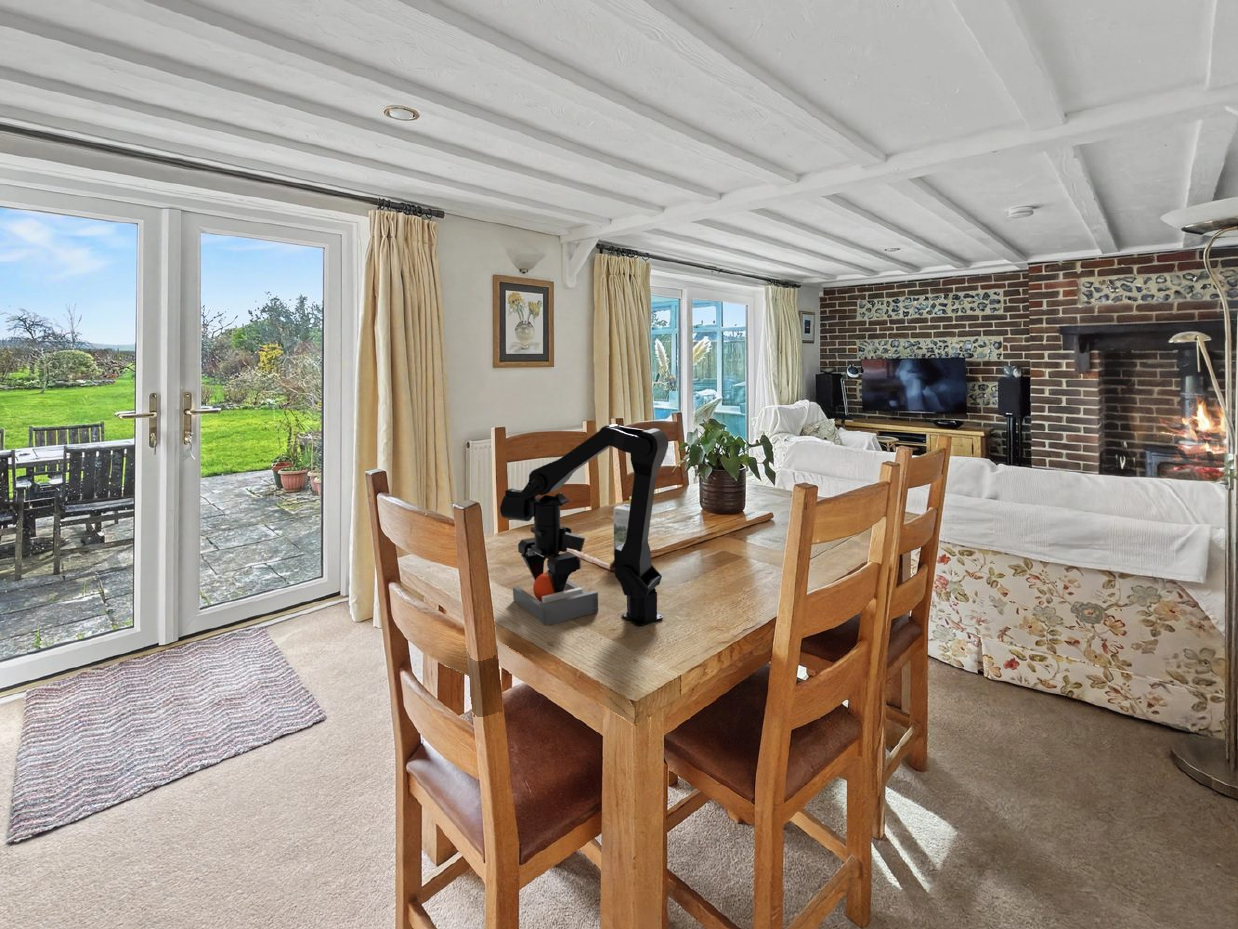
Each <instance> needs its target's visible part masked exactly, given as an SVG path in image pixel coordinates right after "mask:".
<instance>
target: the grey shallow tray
mask: <svg viewBox="0 0 1238 929" xmlns="http://www.w3.org/2000/svg"><path fill="white" fill-rule="evenodd" d="M566 586H567V587H566ZM579 587H580V588H582V587H581V586H579V585H578V584H576V583H574V582H572V581H570V580H569V579H567V582H566V585H565V588H564V591H566V590H571V589H575V588H579ZM582 592H583V594H579V595H575V596H571V597H567V598H563V599H559V600H555V601H551V602H547V603H542V602H540V601H539V600H538V599H537V598H536V597H534V596H532V594H530V593H529V592H527V591H525V590H524V589H523V588H521V587H520V586H518V585H517V586H513V587H512V594H513V595H512V596H513V598H512V599H513V600H514V601H515V602H514V601H513V602H514V603H516V604H517V603H518V604H519V607H521V608H522V609H523V610H525V611H526V612H528V613H529V614H530V613H531V614H530V615H532V614H533V615H534V616H535V617H534V616H533V615H532V616H533V617H534V618H535V619H537V620H538V619H539V620H538V621H539V622H541V623H542V624H544V625H545V626H546V627H547V626H550V625H551V626H552V625H554V624H557V623H558V622H559V623H561V622H565V621H569V620H573V619H577V618H580V617H584V616H588V615H592V614H595V613H598V612H599V592H598V591H596V590H592V591H587V590H586V589H584V588H582ZM518 604H517V605H518Z"/></svg>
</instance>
